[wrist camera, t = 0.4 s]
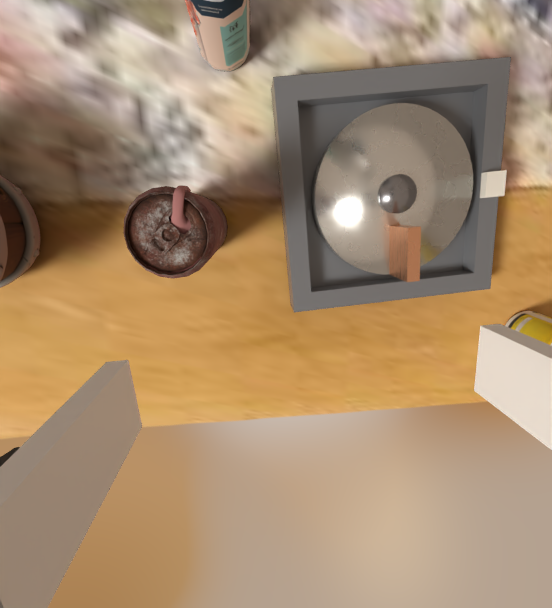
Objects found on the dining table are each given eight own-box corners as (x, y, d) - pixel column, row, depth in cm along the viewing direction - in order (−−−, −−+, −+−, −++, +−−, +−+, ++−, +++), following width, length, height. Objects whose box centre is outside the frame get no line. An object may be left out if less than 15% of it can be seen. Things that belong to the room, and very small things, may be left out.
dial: (306, 117, 31) (318, 95, 25) (465, 102, 32) (512, 78, 26) (316, 278, 36) (329, 291, 30) (456, 262, 36) (495, 272, 31)
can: (231, 199, 34) (220, 191, 20) (223, 259, 36) (207, 287, 22) (173, 188, 33) (120, 171, 20) (167, 249, 35) (115, 272, 21)
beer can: (209, 2, 29) (183, -135, 18) (257, 30, 30) (263, -84, 18) (191, 58, 30) (155, -37, 19) (238, 83, 31) (232, 7, 20)
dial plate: (271, 89, 31) (274, 73, 28) (487, 70, 32) (517, 52, 29) (290, 304, 38) (295, 314, 34) (472, 283, 39) (495, 290, 35)
